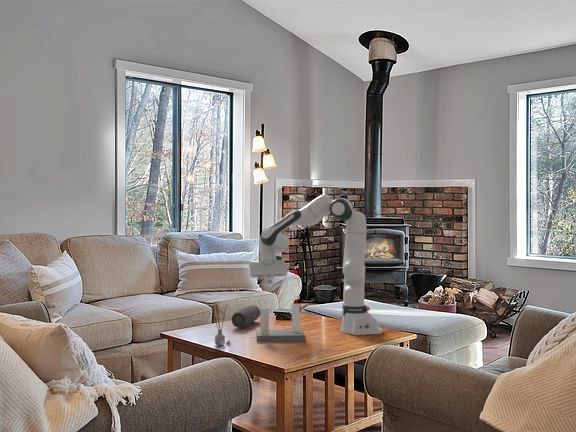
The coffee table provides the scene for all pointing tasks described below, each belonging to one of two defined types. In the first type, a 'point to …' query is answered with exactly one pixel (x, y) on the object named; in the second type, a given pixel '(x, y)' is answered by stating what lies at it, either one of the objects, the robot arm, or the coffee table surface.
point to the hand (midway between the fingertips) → (269, 283)
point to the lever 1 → (264, 320)
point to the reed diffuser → (220, 332)
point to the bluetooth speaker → (245, 316)
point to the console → (280, 336)
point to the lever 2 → (295, 317)
